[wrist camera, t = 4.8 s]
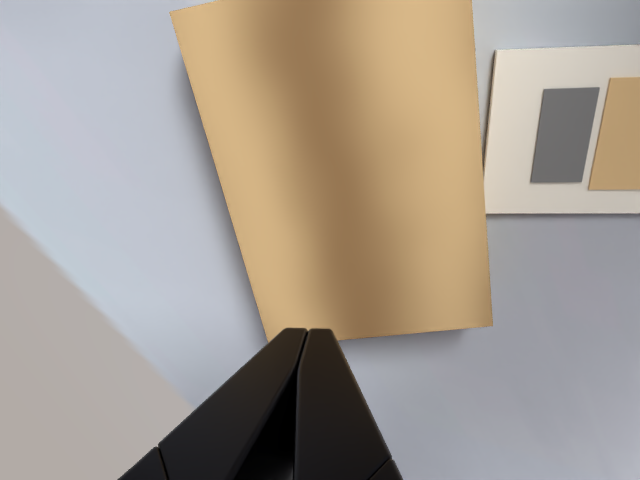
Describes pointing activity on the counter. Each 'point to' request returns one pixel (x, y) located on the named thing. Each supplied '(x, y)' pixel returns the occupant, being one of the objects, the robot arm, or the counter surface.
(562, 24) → the counter surface
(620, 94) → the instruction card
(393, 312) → the base brick
